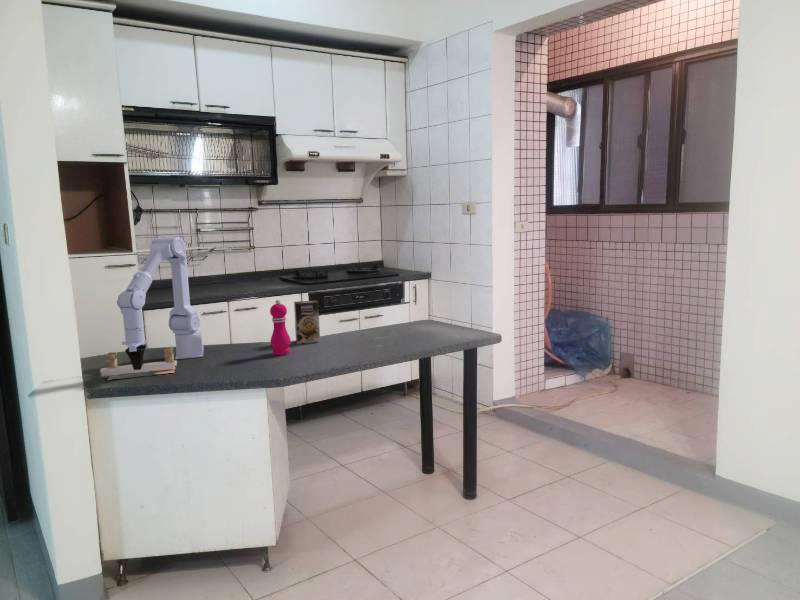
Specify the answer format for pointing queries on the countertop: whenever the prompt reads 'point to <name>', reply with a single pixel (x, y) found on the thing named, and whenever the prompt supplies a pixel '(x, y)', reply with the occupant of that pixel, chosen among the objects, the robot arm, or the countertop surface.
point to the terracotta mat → (165, 371)
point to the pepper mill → (279, 330)
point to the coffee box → (307, 322)
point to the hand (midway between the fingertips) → (138, 368)
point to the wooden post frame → (168, 353)
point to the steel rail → (144, 368)
